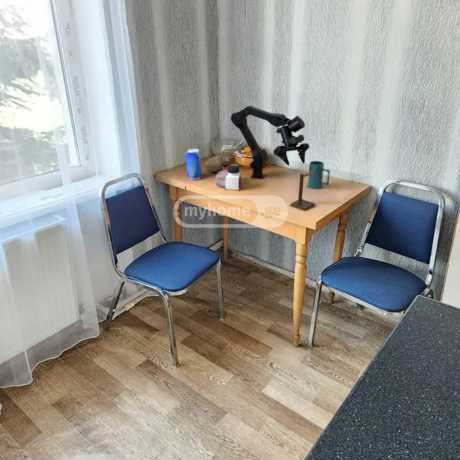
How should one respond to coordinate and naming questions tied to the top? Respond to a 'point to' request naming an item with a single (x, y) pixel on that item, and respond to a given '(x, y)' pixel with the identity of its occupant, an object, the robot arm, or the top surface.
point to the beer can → (193, 164)
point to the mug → (317, 175)
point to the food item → (222, 177)
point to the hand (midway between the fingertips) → (296, 164)
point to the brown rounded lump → (216, 163)
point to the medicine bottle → (233, 178)
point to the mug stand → (300, 202)
